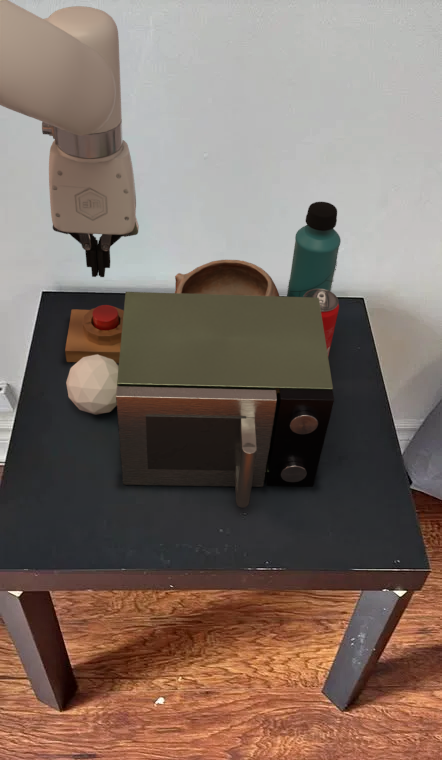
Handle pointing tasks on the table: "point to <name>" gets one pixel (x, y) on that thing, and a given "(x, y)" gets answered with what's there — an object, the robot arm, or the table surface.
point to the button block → (92, 337)
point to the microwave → (239, 362)
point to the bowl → (226, 279)
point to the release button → (105, 317)
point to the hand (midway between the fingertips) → (99, 270)
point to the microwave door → (195, 436)
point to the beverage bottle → (315, 251)
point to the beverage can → (326, 311)
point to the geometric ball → (93, 384)
